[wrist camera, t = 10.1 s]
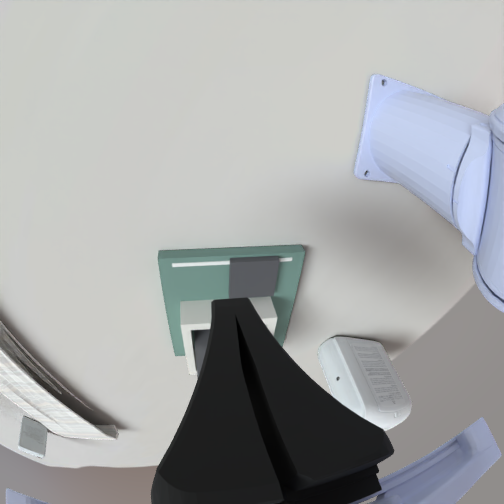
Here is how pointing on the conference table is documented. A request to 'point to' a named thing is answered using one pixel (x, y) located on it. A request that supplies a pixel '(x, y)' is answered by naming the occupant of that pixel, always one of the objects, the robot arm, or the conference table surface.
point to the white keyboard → (42, 395)
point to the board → (227, 288)
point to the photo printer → (365, 380)
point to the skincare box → (32, 437)
